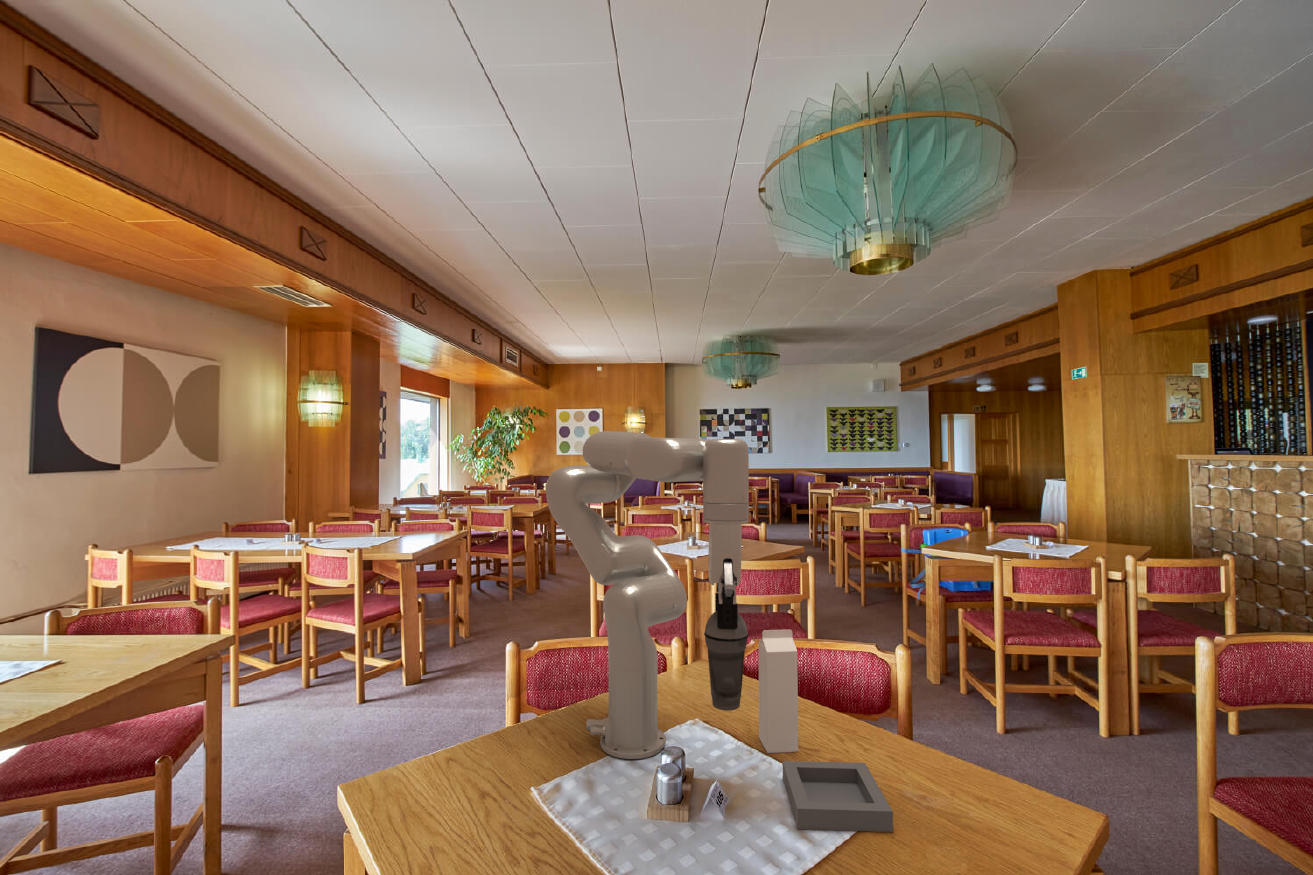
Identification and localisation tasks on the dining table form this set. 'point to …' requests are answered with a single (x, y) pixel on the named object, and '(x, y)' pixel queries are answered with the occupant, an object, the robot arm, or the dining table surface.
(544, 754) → the dining table surface
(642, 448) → the robot arm
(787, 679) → the milk
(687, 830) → the dining table surface
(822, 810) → the tray
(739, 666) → the beverage cup
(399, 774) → the dining table surface
